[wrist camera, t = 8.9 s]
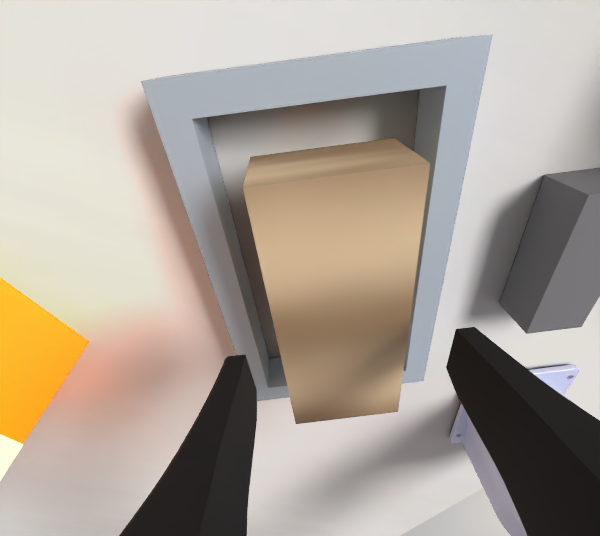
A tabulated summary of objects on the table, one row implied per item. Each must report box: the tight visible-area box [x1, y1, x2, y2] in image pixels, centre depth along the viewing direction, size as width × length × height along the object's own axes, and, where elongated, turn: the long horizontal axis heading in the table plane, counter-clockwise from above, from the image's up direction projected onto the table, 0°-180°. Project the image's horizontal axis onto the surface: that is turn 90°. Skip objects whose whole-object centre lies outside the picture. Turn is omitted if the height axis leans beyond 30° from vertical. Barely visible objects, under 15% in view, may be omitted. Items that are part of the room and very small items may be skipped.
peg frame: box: [141, 35, 492, 401], centre depth 15 cm, size 17×11×2 cm, turn 6°
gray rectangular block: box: [500, 168, 600, 334], centre depth 16 cm, size 8×3×2 cm, turn 6°
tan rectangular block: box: [243, 138, 430, 424], centre depth 13 cm, size 12×5×3 cm, turn 6°
